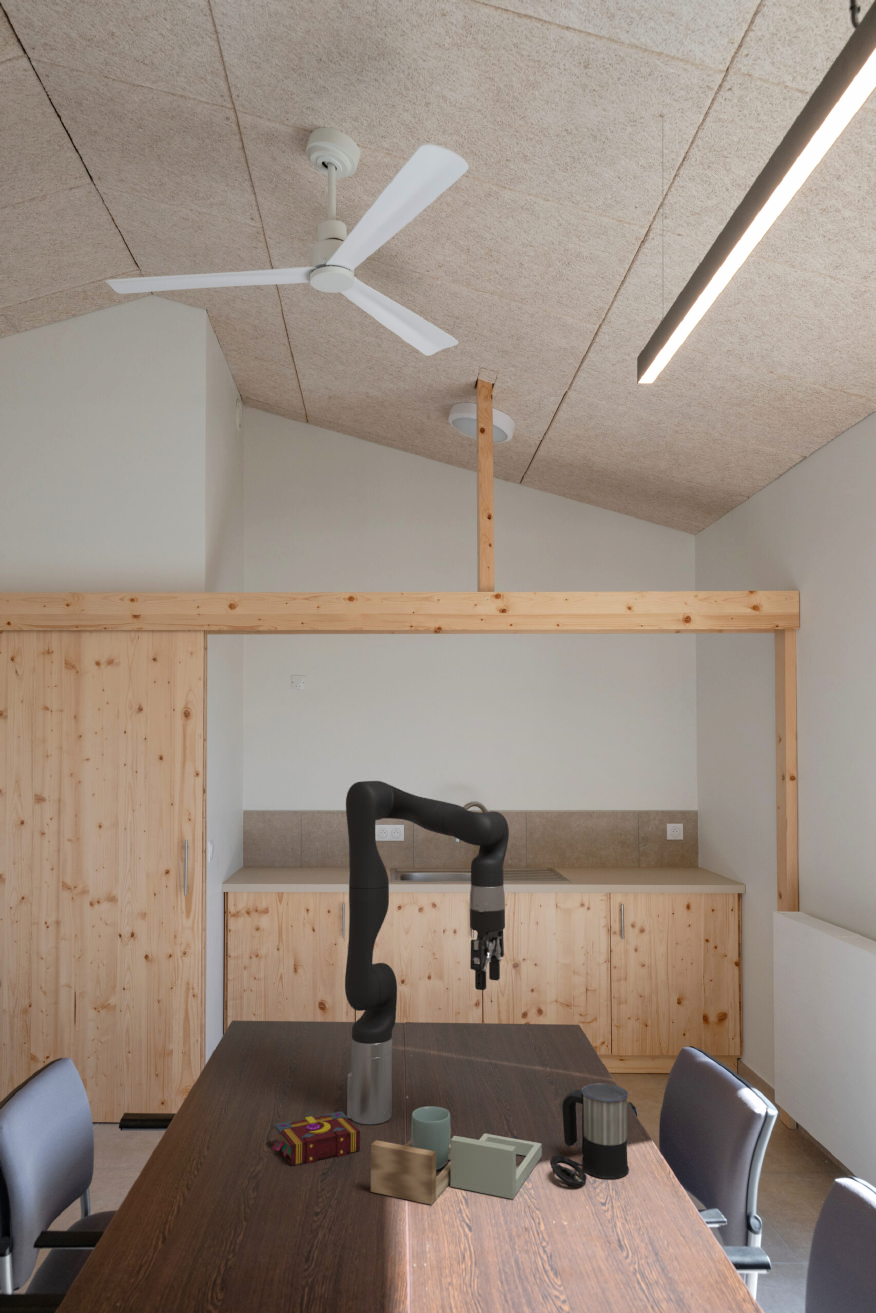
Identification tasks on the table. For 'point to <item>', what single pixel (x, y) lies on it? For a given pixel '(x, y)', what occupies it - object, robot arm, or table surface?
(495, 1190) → the frame
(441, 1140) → the cup
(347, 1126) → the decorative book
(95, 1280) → the table surface
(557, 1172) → the milk frother
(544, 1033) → the table surface
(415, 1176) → the wooden drawer
